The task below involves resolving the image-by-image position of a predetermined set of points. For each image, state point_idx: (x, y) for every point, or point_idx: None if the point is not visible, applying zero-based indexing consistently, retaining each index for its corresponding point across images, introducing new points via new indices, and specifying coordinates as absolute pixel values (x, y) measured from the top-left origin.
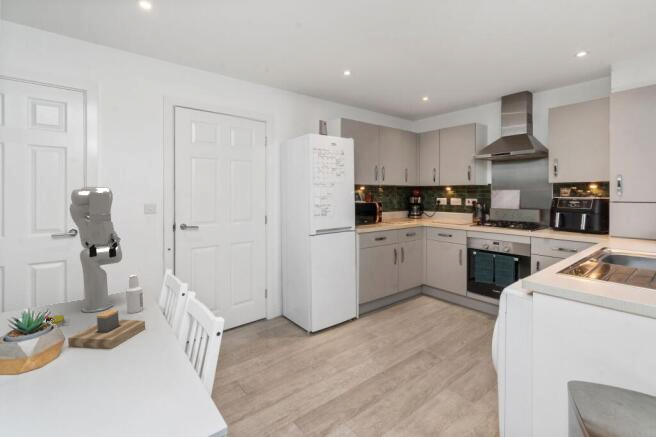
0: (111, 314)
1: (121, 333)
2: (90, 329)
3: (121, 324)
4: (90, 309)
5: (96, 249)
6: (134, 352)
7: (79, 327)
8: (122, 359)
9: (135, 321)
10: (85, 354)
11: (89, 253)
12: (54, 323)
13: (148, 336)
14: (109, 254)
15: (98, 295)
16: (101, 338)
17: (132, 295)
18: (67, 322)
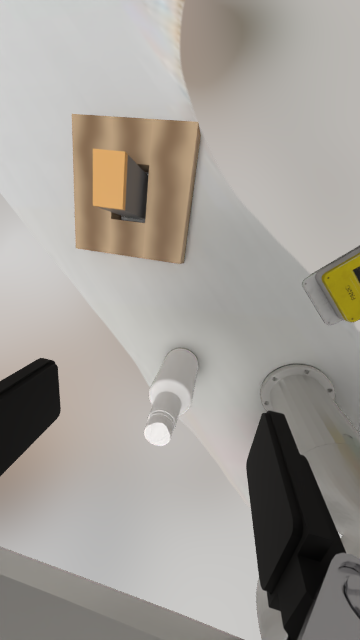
0: (94, 176)
1: (74, 159)
2: (174, 186)
3: (116, 223)
4: (301, 374)
5: (256, 553)
6: (25, 111)
7: (257, 264)
8: (24, 69)
9: (95, 244)
10: (124, 90)
11: (295, 449)
12: (336, 265)
13: (53, 203)
14: (26, 376)
15: (291, 404)
16: (101, 121)
17: (166, 371)
18: (315, 298)
